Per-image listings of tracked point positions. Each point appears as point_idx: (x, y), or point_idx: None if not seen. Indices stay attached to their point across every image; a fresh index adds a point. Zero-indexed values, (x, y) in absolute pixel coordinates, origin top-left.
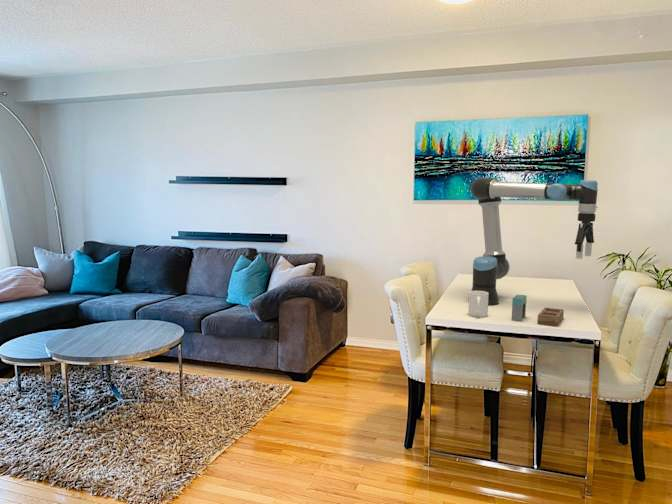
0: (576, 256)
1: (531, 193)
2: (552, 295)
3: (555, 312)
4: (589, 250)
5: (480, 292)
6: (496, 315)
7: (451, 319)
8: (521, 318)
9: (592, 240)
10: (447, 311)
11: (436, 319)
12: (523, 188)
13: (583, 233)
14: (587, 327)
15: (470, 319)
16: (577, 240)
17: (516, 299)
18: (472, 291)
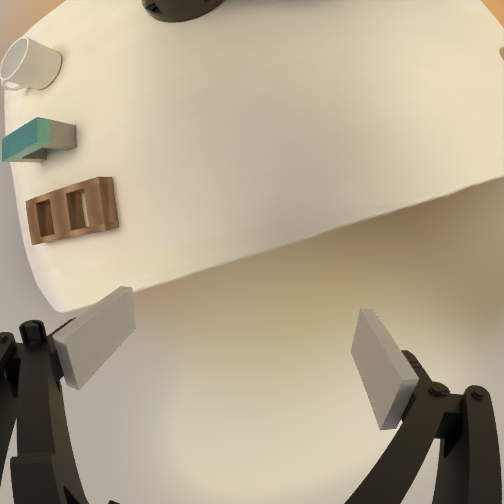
0: (114, 295)
1: None
2: (455, 114)
3: (63, 224)
4: (365, 369)
5: (29, 47)
6: (60, 94)
7: None
8: (38, 161)
9: (442, 434)
10: (55, 20)
11: None
12: None
13: (2, 456)
14: (78, 296)
15: None
16: (6, 360)
17: (3, 148)
18: (23, 38)
